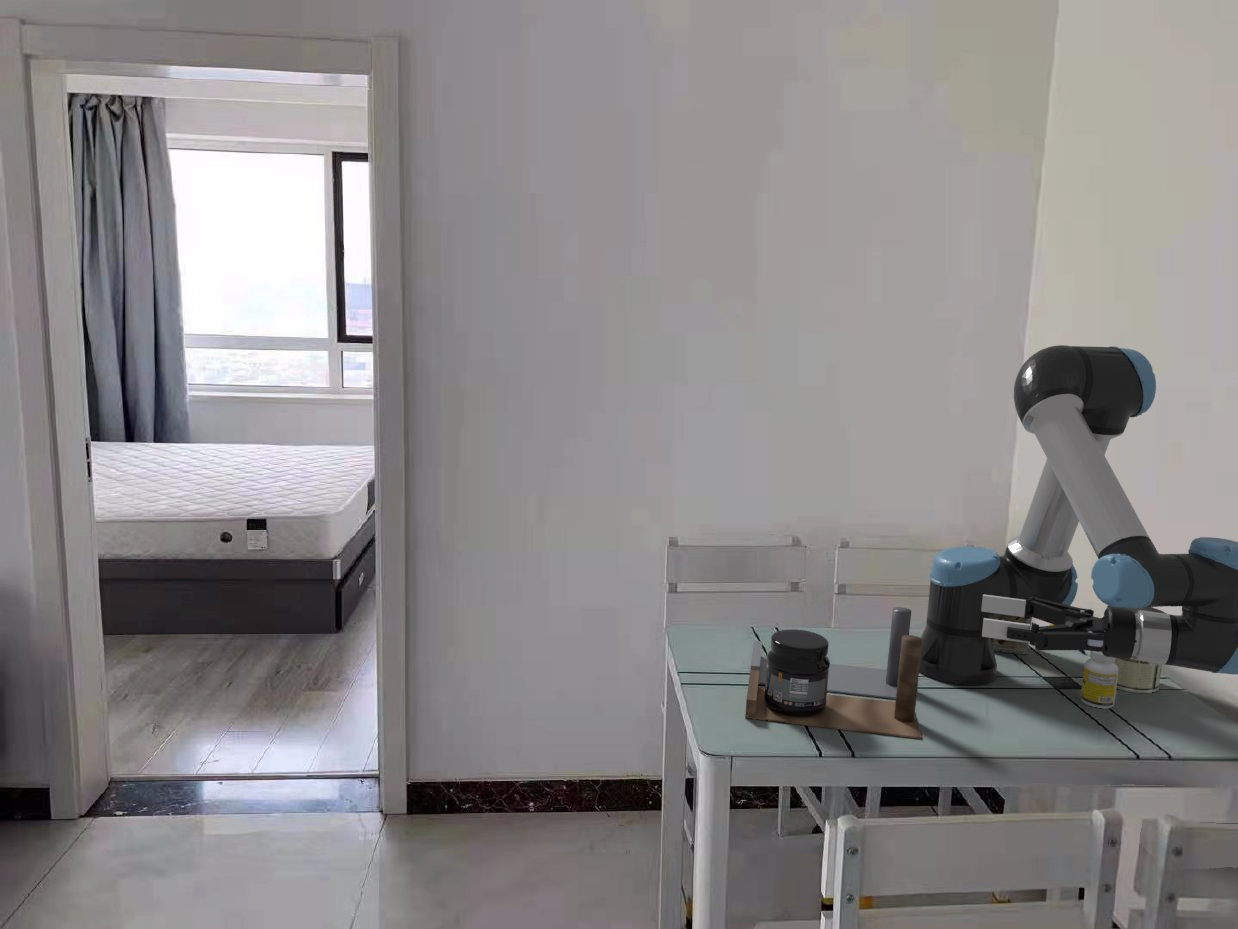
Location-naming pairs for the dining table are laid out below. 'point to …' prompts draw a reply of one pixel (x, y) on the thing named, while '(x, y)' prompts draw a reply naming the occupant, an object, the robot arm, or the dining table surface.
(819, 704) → the supplement container
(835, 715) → the wooden peg stand
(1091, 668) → the supplement bottle
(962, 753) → the dining table surface
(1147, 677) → the coffee can
